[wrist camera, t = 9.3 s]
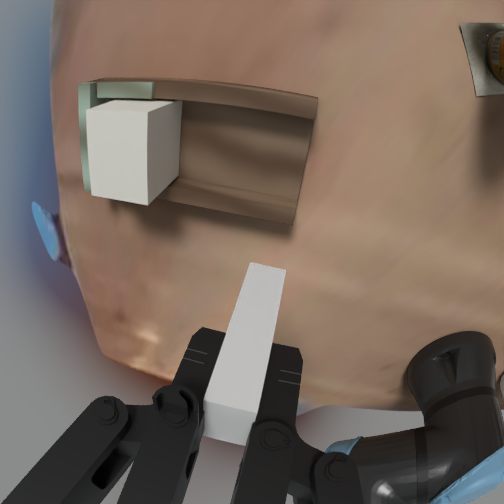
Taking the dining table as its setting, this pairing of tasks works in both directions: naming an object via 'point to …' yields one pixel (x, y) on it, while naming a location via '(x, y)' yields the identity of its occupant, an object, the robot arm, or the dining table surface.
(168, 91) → the walnut chute
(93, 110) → the cream block
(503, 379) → the can
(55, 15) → the dining table surface
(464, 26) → the condiment
